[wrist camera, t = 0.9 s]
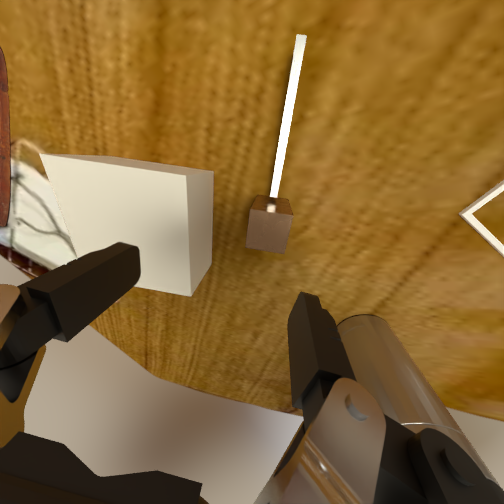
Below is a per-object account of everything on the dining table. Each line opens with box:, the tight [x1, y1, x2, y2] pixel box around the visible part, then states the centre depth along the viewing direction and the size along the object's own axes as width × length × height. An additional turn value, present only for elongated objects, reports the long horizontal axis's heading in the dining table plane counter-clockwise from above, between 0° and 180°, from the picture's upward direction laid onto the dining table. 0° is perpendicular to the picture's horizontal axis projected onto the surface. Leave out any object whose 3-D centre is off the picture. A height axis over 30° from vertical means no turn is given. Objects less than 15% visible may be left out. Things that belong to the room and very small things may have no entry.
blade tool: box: [245, 34, 307, 254], centre depth 18 cm, size 18×4×8 cm, turn 173°
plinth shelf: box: [40, 154, 214, 297], centre depth 23 cm, size 14×14×8 cm
